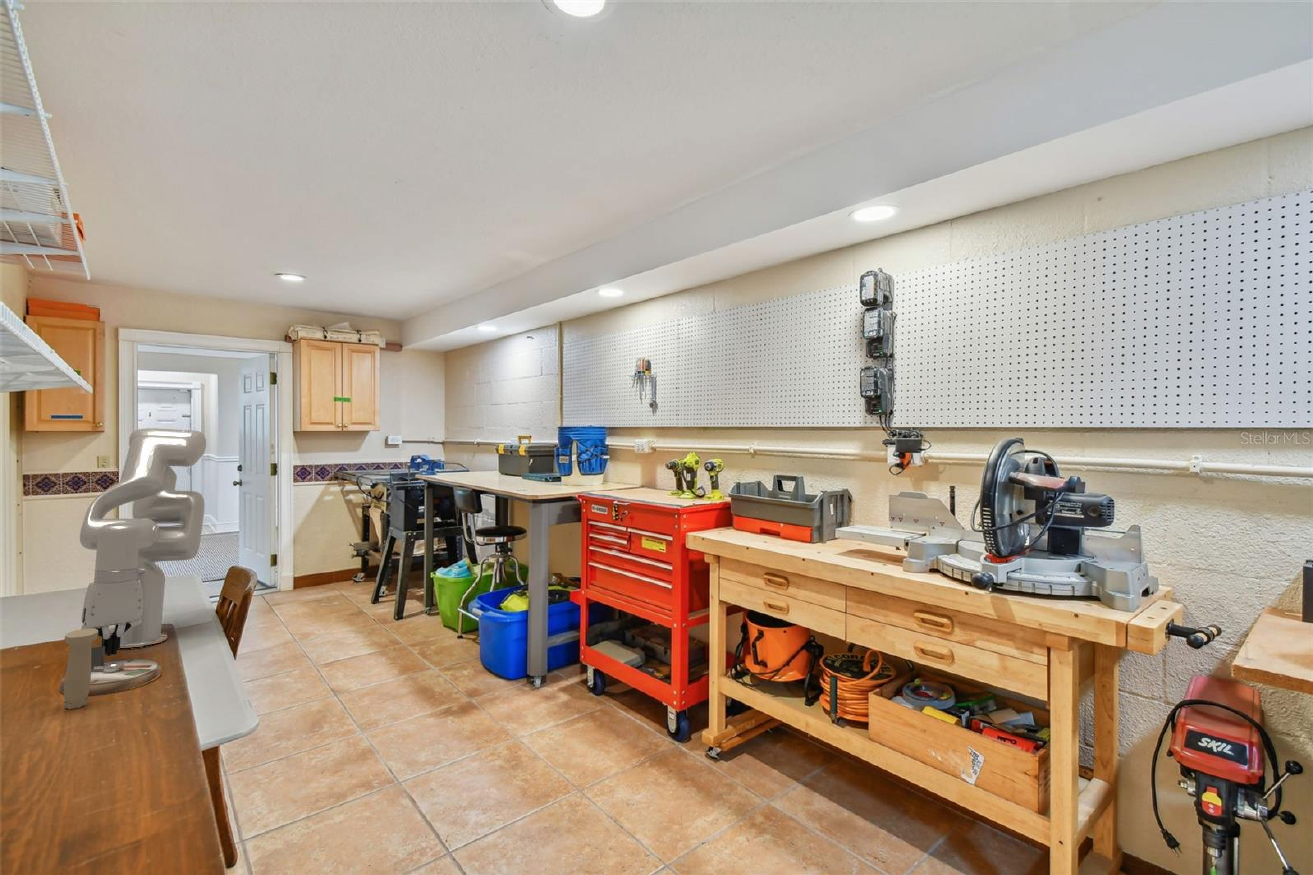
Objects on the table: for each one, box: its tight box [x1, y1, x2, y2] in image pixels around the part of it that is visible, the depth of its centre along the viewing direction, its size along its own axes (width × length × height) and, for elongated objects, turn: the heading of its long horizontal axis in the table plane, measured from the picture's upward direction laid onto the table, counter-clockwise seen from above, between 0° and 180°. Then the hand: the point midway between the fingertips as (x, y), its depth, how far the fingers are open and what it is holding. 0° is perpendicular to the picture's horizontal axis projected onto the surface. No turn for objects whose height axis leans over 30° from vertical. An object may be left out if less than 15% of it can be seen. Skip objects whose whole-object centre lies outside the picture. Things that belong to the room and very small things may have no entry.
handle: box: [63, 629, 99, 710], centre depth 121 cm, size 5×6×15 cm
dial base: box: [59, 658, 163, 697], centre depth 135 cm, size 17×17×3 cm
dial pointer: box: [91, 646, 151, 673], centre depth 135 cm, size 14×4×5 cm, turn 103°
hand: (110, 653), depth 139 cm, fingers closed
